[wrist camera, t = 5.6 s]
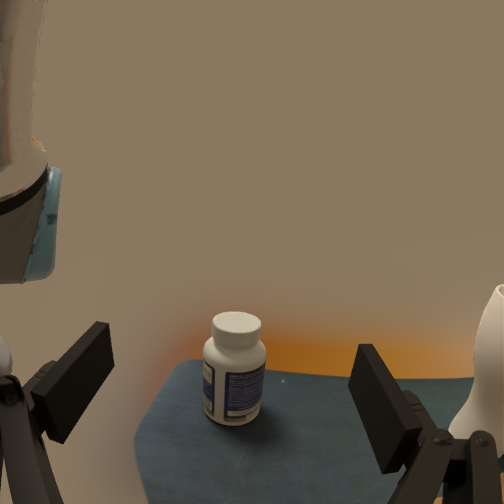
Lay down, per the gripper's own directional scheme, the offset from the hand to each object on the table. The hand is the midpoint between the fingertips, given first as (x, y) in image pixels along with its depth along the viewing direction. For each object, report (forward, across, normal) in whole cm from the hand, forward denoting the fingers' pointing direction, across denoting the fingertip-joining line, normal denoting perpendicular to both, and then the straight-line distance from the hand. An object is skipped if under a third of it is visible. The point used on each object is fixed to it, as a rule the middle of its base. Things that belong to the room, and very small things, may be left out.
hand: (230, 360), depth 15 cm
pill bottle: (+10, 0, -12) cm, 16 cm away
